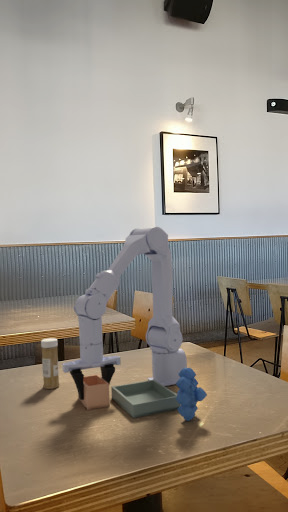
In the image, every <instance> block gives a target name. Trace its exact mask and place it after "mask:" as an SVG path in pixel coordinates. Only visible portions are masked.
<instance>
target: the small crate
mask: <svg viewBox="0 0 288 512" xmlns="http://www.w3.org/2000/svg"><path fill="white" fill-rule="evenodd" d="M83 390H84V400H81V399H80V398H79V394H78V393H77V398H78V400H79V401H80V402H81V404H82V405H83V406H84V408H85V409H87V410H88V411H90V410H95V409H101V408H105V407H110V405H111V404H110V385H109V383H108V382H106V381H105V380H104V379H103V378H102V376H101V375H100V374H98V373H97V374H91V375H86V376H85V375H84V379H83Z"/></svg>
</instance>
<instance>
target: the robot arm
mask: <svg viewBox="0 0 288 512" xmlns="http://www.w3.org/2000/svg"><path fill="white" fill-rule="evenodd" d="M139 255H144V256H146V257H147V259H149V260H150V261H151V270H152V271H151V274H152V277H151V278H152V279H151V281H152V317H151V318H150V319H149V321H148V322H147V330H146V332H145V340H146V343H147V345H148V346H149V347H150V349H149V350H151V366H152V367H151V368H152V369H151V370H152V377H148V378H147V379H146V381H148V380H155V381H157V382H159V383H160V384H162V385H163V386H165V387H167V386H168V387H169V386H172V385H176V383H177V381H178V380H179V379H180V376H179V375H178V374H179V372H180V371H181V370H182V369H183V368H188V360H187V355H186V353H185V351H184V349H182V348H181V347H182V344H183V335H182V332H181V329H180V328H181V325H180V323H179V322H178V321H177V319H176V318H175V317H174V315H173V278H172V276H173V275H172V274H173V270H172V269H173V268H172V264H173V263H172V252H171V248H170V246H169V234H168V233H167V232H166V231H165V230H163V228H161V227H160V226H153V227H144V228H139V227H137V228H133V229H132V230H131V231H130V232H129V234H128V235H127V237H125V242H124V245H123V246H122V247H121V249H120V250H119V252H118V254H117V255H116V257H115V258H114V259H113V261H112V262H111V263H112V264H110V265H109V268H107V269H108V270H101V272H97V274H95V277H96V278H95V279H94V281H93V283H92V284H91V285H90V286H89V288H86V290H85V294H82V295H80V296H78V298H77V299H76V301H75V305H73V311H74V313H75V315H77V318H78V319H77V321H78V334H79V335H78V336H79V353H80V354H79V355H80V359H77V360H72V361H67V362H63V363H62V372H64V374H67V373H69V374H70V375H71V377H72V380H73V382H74V384H75V387H76V389H77V390H76V391H77V395H78V394H79V398H80V399H81V400H84V390H83V379H84V376H85V375H84V373H83V370H88V369H95V368H100V373H101V374H100V376H101V377H102V378H103V379H104V380H105V381H106V382H108V383H109V386H110V384H111V381H112V379H113V376H114V374H115V371H116V366H120V365H121V363H122V362H121V357H120V356H119V355H110V356H104V344H103V343H104V342H103V321H102V320H103V319H102V317H103V316H104V314H106V312H107V304H108V302H109V300H110V298H111V297H112V295H114V293H115V292H116V290H117V288H118V287H119V285H120V277H121V275H122V274H124V272H125V271H126V269H127V268H128V267H129V266H130V264H131V263H132V262H133V260H134V259H135V258H136V257H137V256H139Z"/></svg>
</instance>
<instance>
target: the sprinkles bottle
mask: <svg viewBox="0 0 288 512" xmlns="http://www.w3.org/2000/svg"><path fill="white" fill-rule="evenodd" d="M58 345H59V344H58V339H57V338H55V337H54V338H53V337H48V338H43V339H41V341H40V347H41V355H42V356H41V363H42V365H41V366H42V376H43V378H42V381H43V385H42V386H43V389H47V390H52V389H56V388H58V387H59V386H60V382H59V381H60V378H59V375H60V374H59V358H58Z"/></svg>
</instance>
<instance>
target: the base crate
mask: <svg viewBox="0 0 288 512" xmlns="http://www.w3.org/2000/svg"><path fill="white" fill-rule="evenodd" d="M177 395H178V394H177V392H175V391H173V390H171V389H169V387H167V386H163V385H162V384H160V383H159V382H157V381H155V380H144V381H138V382H132V383H125V384H120V385H114V386H112V385H111V399H112V401H114V402H115V403H116V404H117V405H118V406H120V407H121V409H123V410H124V411H125V412H126V413H127V414H128V415H129V416H130V417H132V419H136V418H137V419H138V418H141V417H147V416H151V415H157V414H161V413H168V412H171V411H178V410H177V409H178V408H179V407H180V404H179V403H178V401H177V400H176V396H177Z"/></svg>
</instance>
